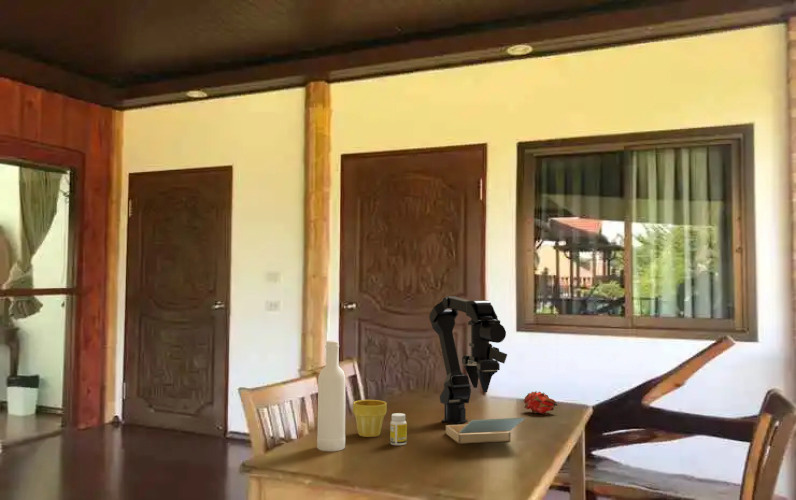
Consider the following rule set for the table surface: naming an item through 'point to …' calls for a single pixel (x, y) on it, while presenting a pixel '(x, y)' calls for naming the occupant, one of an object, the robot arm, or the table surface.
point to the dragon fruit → (539, 402)
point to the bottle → (331, 402)
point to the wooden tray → (475, 435)
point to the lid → (491, 425)
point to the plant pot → (369, 416)
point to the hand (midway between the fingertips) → (480, 390)
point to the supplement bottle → (398, 429)
